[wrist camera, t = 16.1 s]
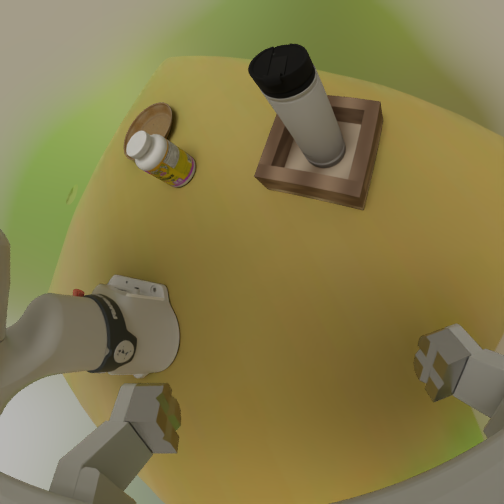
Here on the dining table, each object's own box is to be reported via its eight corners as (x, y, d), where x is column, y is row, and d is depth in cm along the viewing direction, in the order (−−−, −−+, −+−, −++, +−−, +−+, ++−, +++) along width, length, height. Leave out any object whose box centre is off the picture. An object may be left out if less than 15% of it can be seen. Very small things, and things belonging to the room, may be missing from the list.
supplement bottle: (165, 186, 56) (116, 161, 44) (176, 155, 56) (131, 126, 45) (190, 190, 53) (140, 162, 41) (202, 157, 53) (156, 123, 42)
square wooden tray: (268, 189, 46) (254, 176, 41) (295, 110, 46) (284, 92, 42) (363, 210, 39) (359, 197, 34) (383, 121, 39) (380, 101, 35)
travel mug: (303, 170, 43) (239, 86, 25) (306, 133, 43) (250, 42, 26) (344, 171, 40) (303, 76, 22) (346, 132, 41) (307, 32, 23)
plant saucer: (139, 177, 60) (131, 173, 58) (125, 140, 66) (118, 136, 64) (188, 129, 57) (180, 123, 54) (167, 98, 63) (160, 92, 60)
